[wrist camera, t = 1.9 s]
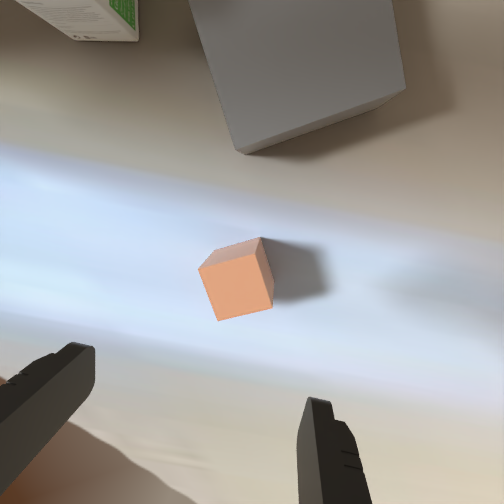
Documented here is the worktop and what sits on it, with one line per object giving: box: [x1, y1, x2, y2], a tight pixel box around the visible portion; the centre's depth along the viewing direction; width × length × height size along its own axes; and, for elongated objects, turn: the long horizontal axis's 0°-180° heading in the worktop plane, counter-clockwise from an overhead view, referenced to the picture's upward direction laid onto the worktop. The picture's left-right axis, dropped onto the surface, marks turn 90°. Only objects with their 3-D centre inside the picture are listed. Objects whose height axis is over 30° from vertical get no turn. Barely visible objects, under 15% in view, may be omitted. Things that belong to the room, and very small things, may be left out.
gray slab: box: [188, 0, 406, 155], centre depth 21 cm, size 12×12×6 cm
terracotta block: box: [198, 237, 274, 321], centre depth 26 cm, size 5×5×6 cm
